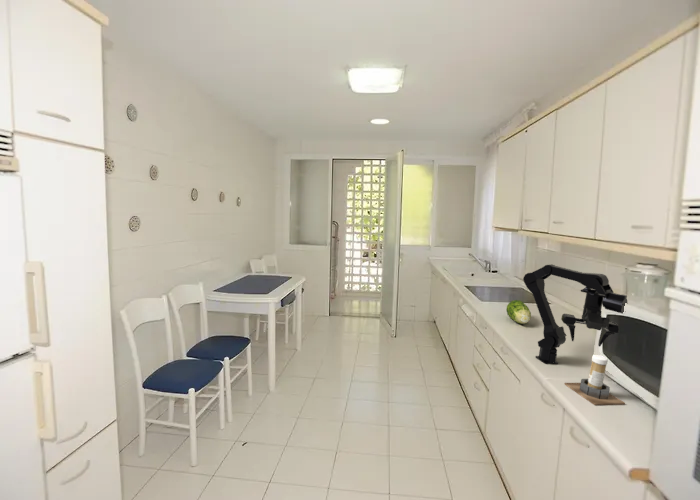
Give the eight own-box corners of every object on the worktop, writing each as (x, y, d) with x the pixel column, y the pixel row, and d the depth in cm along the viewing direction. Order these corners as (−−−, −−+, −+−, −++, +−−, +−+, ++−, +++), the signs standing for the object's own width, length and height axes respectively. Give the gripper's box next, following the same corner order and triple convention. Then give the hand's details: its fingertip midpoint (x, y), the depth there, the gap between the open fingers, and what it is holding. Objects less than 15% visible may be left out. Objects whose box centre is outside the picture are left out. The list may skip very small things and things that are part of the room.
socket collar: (574, 386, 137) (575, 378, 136) (594, 386, 138) (595, 378, 138) (593, 399, 128) (594, 391, 128) (614, 398, 130) (615, 390, 129)
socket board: (564, 384, 139) (564, 382, 139) (592, 383, 141) (592, 382, 141) (594, 405, 125) (595, 403, 125) (624, 404, 127) (625, 402, 127)
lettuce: (512, 327, 202) (515, 307, 200) (503, 315, 222) (505, 297, 221) (534, 329, 200) (538, 309, 199) (523, 318, 220) (526, 299, 219)
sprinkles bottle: (587, 387, 136) (594, 353, 134) (602, 392, 133) (609, 357, 131) (584, 391, 133) (591, 356, 131) (599, 397, 130) (606, 360, 128)
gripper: (569, 306, 141) (562, 345, 143) (628, 316, 134) (619, 356, 136) (564, 299, 151) (558, 336, 153) (618, 308, 144) (610, 346, 147)
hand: (585, 343), depth 147 cm, fingers open, 9 cm apart
